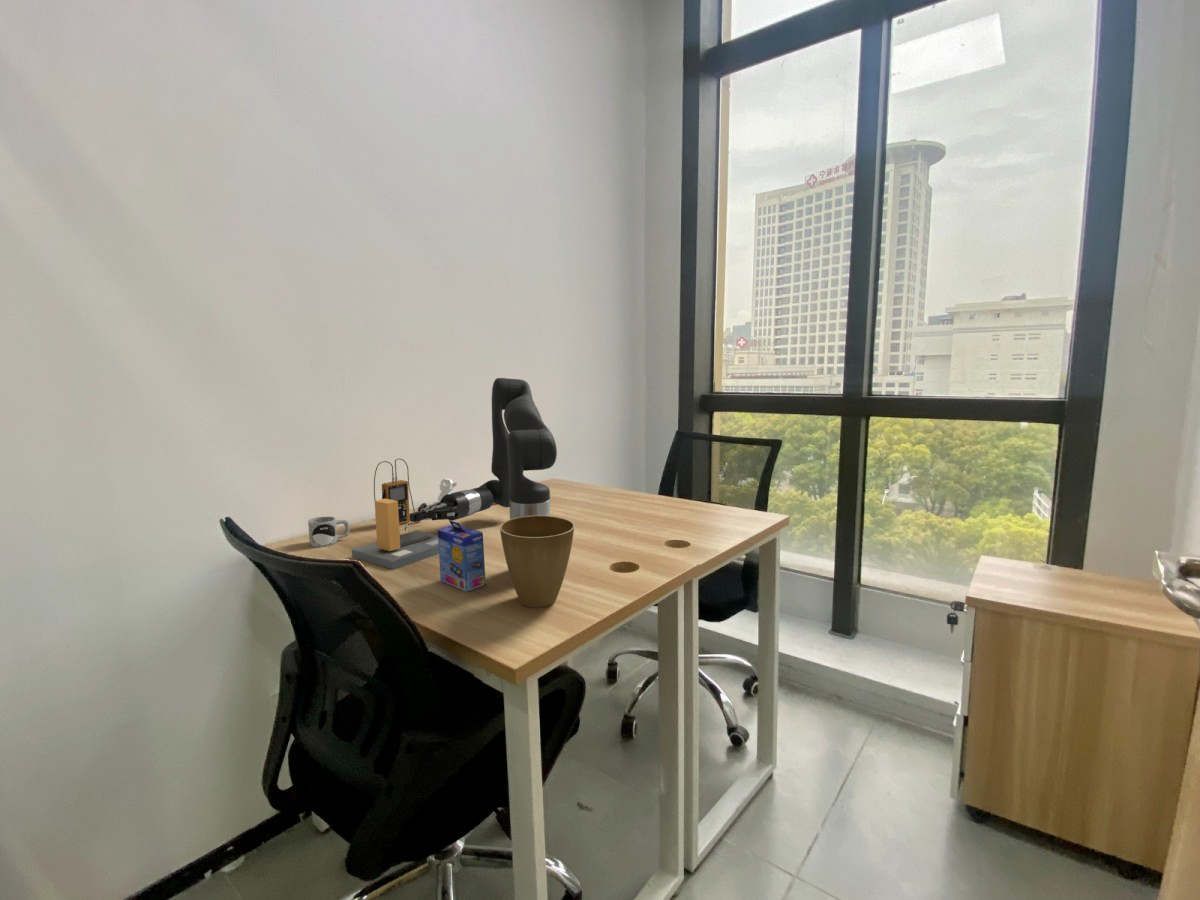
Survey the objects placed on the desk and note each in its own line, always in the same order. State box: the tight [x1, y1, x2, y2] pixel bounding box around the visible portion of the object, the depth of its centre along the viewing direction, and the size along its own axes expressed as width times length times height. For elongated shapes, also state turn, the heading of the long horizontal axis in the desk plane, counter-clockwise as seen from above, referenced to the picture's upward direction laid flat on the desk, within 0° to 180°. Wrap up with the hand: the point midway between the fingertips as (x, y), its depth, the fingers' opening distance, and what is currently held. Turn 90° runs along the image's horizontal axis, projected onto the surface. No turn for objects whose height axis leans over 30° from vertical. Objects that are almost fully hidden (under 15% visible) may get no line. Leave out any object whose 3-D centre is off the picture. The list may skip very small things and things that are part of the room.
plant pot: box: [499, 515, 575, 608], centre depth 113 cm, size 15×15×16 cm
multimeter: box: [373, 458, 421, 531], centre depth 166 cm, size 15×10×20 cm
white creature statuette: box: [437, 477, 458, 502], centre depth 180 cm, size 10×9×12 cm
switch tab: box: [374, 498, 401, 551], centre depth 139 cm, size 5×3×12 cm, turn 57°
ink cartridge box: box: [437, 520, 487, 593], centre depth 122 cm, size 10×6×14 cm, turn 51°
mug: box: [307, 516, 350, 548], centre depth 152 cm, size 10×7×7 cm, turn 126°
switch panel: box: [351, 529, 439, 570], centre depth 144 cm, size 16×20×2 cm
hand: (411, 518), depth 145 cm, fingers closed
